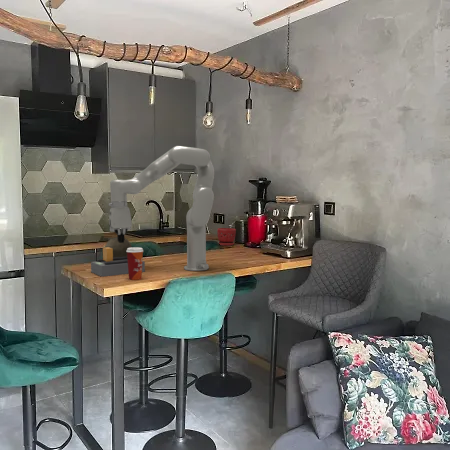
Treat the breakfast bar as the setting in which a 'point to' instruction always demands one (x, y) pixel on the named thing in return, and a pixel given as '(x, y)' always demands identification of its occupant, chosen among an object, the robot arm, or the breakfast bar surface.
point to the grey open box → (112, 267)
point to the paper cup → (135, 262)
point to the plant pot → (228, 238)
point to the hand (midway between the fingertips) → (121, 242)
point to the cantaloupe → (118, 247)
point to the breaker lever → (108, 254)
